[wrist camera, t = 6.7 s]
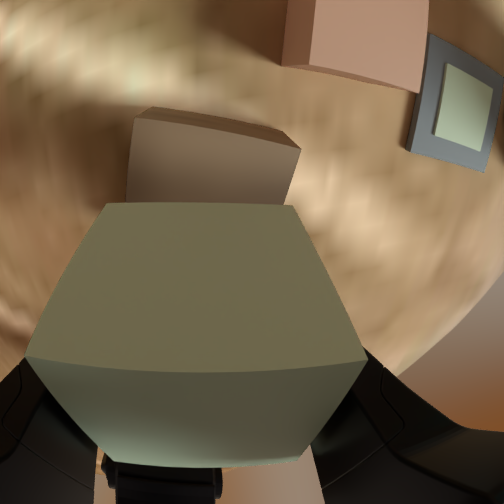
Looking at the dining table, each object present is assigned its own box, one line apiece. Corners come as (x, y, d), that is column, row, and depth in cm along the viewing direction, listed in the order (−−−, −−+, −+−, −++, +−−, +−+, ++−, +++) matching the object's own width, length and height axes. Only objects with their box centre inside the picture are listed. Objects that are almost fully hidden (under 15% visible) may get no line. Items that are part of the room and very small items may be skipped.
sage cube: (269, 331, 11) (296, 460, 7) (132, 330, 10) (113, 460, 6) (292, 205, 8) (368, 359, 4) (107, 203, 7) (23, 355, 3)
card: (479, 169, 17) (485, 174, 17) (405, 149, 16) (411, 153, 15) (498, 76, 13) (506, 78, 12) (424, 33, 12) (432, 33, 11)
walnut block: (249, 238, 19) (258, 278, 16) (138, 221, 17) (123, 259, 14) (282, 130, 15) (301, 149, 12) (153, 106, 14) (134, 117, 10)
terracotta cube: (367, 82, 14) (419, 93, 10) (280, 66, 13) (308, 64, 9) (375, 6, 11) (429, -5, 7) (289, -16, 10) (319, -47, 6)
